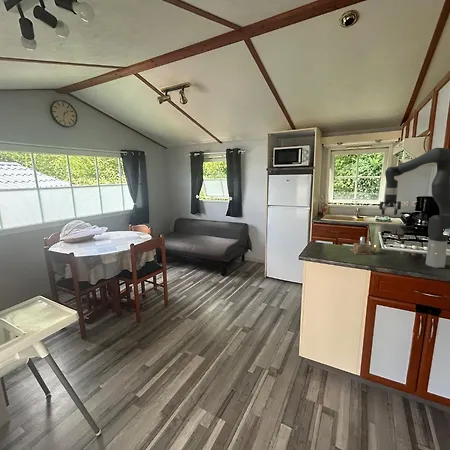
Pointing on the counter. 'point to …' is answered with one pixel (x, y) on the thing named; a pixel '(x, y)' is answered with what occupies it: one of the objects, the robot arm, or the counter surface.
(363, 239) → the long steel pin
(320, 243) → the counter surface
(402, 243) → the counter surface
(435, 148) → the robot arm
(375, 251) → the short brass pin
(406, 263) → the counter surface
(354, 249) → the socket block
